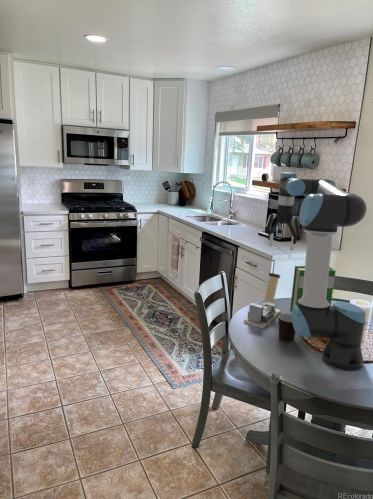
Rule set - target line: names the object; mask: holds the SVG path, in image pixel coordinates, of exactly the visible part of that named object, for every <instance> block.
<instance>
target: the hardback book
mask: <svg viewBox="0 0 373 499" xmlns="http://www.w3.org/2000/svg"><path fill="white" fill-rule="evenodd" d="M304 273H305V265H295V266H294V273H293V283H292V290H291V299H290V300H291V301H290V308H289V311H290V312H292V307H293V306H295V305H298V300H299V299H300V298H301V297H302V296H303V284H304ZM335 278H336V269H333V268H332V267H330V266H329V275H328V285H327V296H326V300H327V301H328V302H329V303H330V306H331V305H332V299H333V292H334V286H335V285H334V284H335ZM331 307H332V306H331Z"/></svg>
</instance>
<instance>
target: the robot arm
mask: <svg viewBox="0 0 373 499" xmlns="http://www.w3.org/2000/svg"><path fill="white" fill-rule="evenodd" d="M297 196H306V197H305V198H304V199H303V201H302V203H301V206H300V210H299V216H294V215H293V214H294V203H295V197H297ZM277 200H278V201H277V211H276V213H271V214H270V216H269V217H270V218H269V220H268V223H267V226H266V228H265V230H264V231H265V233H267V234H268V236H267V238H268V241H269V246H268V247H269V248H272V247H273V245H274V233H273V232H274V231H275V230H276V229H277V227H278V225H280V224H284V225H285V224H286V225H287V226H288V228H289V231H290V232H291V234H292V237H291V242H290V249H289V250H290V251H294V249H295V245H296V244H297V240H298V238H300V237H301V236H302V233H301V228H300V227H301V226H303V231H304V232H305V233H306V234H307V237H306V238H307V239H306V250H305V252H306V253H305V263H304V266H305V273H304V284H303V296H302V297H301V298H300V299H299V300H298V305H295V306H293V307H292V311H290V312H291V313H290V314H291V316H292V323H293V327H294V330H295V332H296V333H295V334H296V335H297V336H298V337H303V338H309V339H310V338H328V340H327V342H326V344H324V347H323V348H322V351H321V359H322V361H323V362H324V363H325V364H327V365H329V366H330V367H332V368H334V369H337V370H340V371H346V372H347V371H348V372H355V371H359V370H361V369H362V368H363V365H364V356H363V352H362V347H361V346H362V340H363V334H364V328H365V323H366V311H365V310H364V309H362V308H361V307H360V306H358V305H356V304H353V303H350V302H346V301H336V302H334V303H333V304H332V306H331V307H330V303H329V302H328V301H327V300H326V296H327V285H328V275H329V267H330V264H331V253H332V242H333V236H335V235H336V234H338V228H349V227H352V226H356V225H357V224H358V223H360V222H361V221H362V220H363V219H364V218H365V216H366V213H367V204H366V201H365V200H364V199H363V198H362V197H361V196H360V195H357V194H356V193H351V192H350V193H348V192H346V191H344V190H343V189H341V188H339V187H338V186H336V182H335V180H334V179H327V178H325V179H324V178H323V179H321V178H320V179H317V178H297V173H296V172H281V174H280V179H279V191H278V198H277ZM276 218H277V219H276ZM275 219H276V221H275V223H274V224H273V222H274V220H275ZM292 220H293V222H294V225H293V222H292ZM272 224H273V226H272ZM300 225H301V226H300ZM294 226H295V227H294Z"/></svg>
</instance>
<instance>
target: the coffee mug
mask: <svg viewBox="0 0 373 499" xmlns="http://www.w3.org/2000/svg"><path fill="white" fill-rule="evenodd" d="M277 317H278V340H280V341H281V342H283V343H284V342H285V343H293V342H294V340H295V338H296V337H295V336H296V334H297V333H296V332H295V330H294V327H293V323H292V316H291V313H280V314H279V315H278V316H277Z"/></svg>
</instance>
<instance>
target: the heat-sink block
mask: <svg viewBox="0 0 373 499" xmlns="http://www.w3.org/2000/svg"><path fill="white" fill-rule="evenodd" d="M276 305H277V304H275V303H272V302H268V301H267V302H266V301H263V302H262V303H258V304H255V303H252V302H251V303H250V304H249V310H248V311H247V317H248V318H249V321H252V322H256V323H259V324H261V323H262V322H263V323H266V322H267V321H268V320H269V319H270V318H272V317H273V316H274V313H275V309H277V308H276V307H277V306H276Z"/></svg>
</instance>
